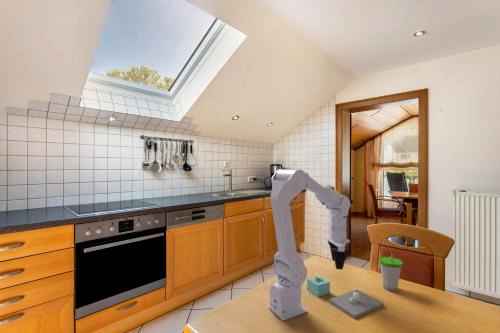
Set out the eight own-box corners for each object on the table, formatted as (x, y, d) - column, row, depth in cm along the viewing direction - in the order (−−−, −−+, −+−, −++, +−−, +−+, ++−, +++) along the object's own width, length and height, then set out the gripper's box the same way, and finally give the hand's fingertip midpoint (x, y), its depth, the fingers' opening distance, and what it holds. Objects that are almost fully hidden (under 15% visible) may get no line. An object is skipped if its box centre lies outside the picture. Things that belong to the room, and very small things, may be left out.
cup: (384, 281, 98) (384, 243, 98) (406, 289, 92) (406, 248, 92) (374, 287, 93) (374, 247, 93) (396, 296, 87) (397, 253, 87)
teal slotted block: (329, 292, 89) (329, 281, 89) (318, 296, 87) (318, 285, 87) (318, 286, 94) (318, 275, 94) (307, 289, 92) (307, 278, 91)
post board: (354, 318, 75) (354, 307, 74) (328, 302, 83) (329, 291, 83) (383, 306, 81) (383, 295, 81) (357, 292, 90) (357, 282, 90)
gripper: (354, 233, 83) (353, 274, 84) (345, 223, 98) (344, 258, 98) (332, 232, 85) (331, 272, 85) (326, 222, 99) (325, 256, 99)
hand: (337, 264), depth 91 cm, fingers open, 7 cm apart
